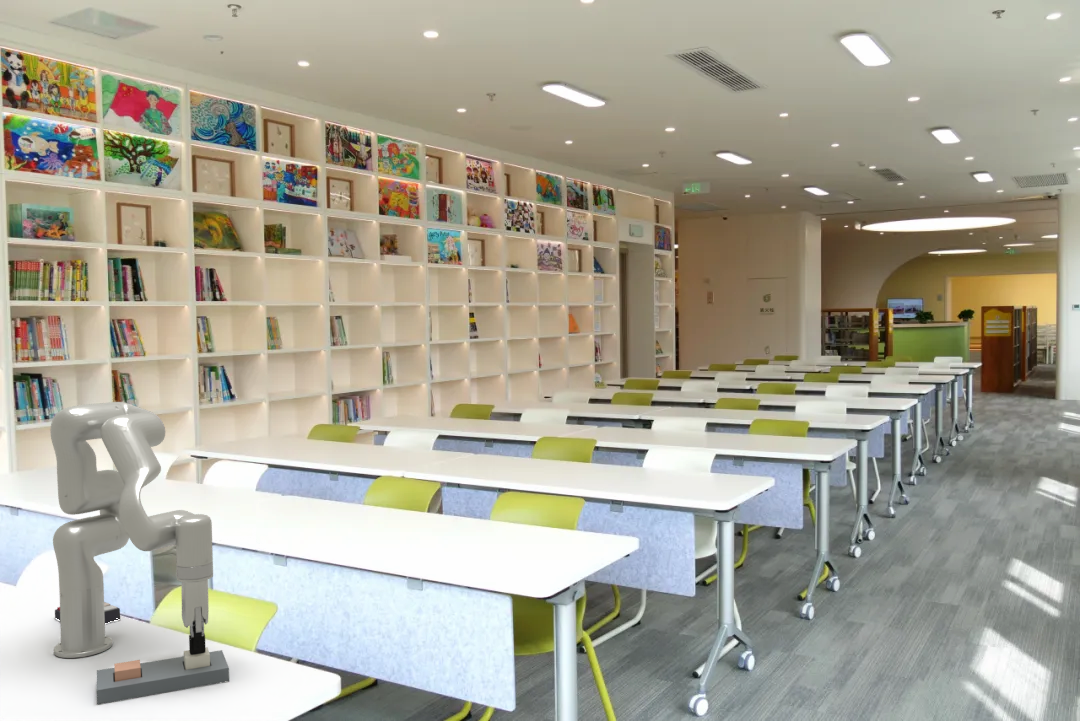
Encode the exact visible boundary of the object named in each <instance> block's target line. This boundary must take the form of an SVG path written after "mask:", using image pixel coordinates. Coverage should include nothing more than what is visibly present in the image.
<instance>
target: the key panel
mask: <svg viewBox="0 0 1080 721" xmlns="http://www.w3.org/2000/svg"><path fill="white" fill-rule="evenodd" d="M209 653H210V666H206V667H200V668H194V669H188V670H184V655H183V656H178V657H171V658H164V659H160V660H153V661H147V662H140V666H141V677H140V678H134V679H128V680H122V681H117V682H115V666H114V667H110V668H103V669H97V670H96V705H97V704H98V705H102V704H101V703H104V704H108V703H107V702H109V703H115V702H120V700H121V701H125V700H131V698H132V699H137V698H143V697H148V696H152V695H154V696H155V695H160V694H164V693H171V692H177V691H182V690H188V689H193V688H199V687H203V686H204V687H206V686H211V685H215V684H216V683H217V684H221V683H220V682H222V683H226V682H225V681H228V682H230V667H229V665H228V662H227V660H226V658H225V655H224V650H222V649H221V650H214V651H209ZM114 701H115V702H114Z"/></svg>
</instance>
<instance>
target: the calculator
mask: <svg viewBox="0 0 1080 721" xmlns="http://www.w3.org/2000/svg"><path fill="white" fill-rule="evenodd" d="M104 617H105V623H108V622H110V621H114V620H118V619H120V620H121V610H120V607H118V606H115V605H112V604H111V603H109V602H105V601H104ZM55 618H57V619H59V620H60V606H58V607H57V609H54V619H55ZM116 618H118V619H116Z"/></svg>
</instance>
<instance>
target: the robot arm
mask: <svg viewBox="0 0 1080 721" xmlns="http://www.w3.org/2000/svg"><path fill="white" fill-rule="evenodd" d="M49 430H50V440H51V444H52V447H53V450H54V454H55V457H56V458H55V459H56V476H57V477H56V480H57V495H58V496H57V497H58V504H59V507H60V510H61V511H62V512H63V513H64V514H67V515H72V516H73V515H83V514H87V513H93V512H96V511H99V514H98V515H94V516H88V517H83V518H79V519H73V520H72V521H68V522H65V523H63V524H62V525H60V526H59V527H58V528H57V529H56V530H55V532H54V534H53V537H52V544H53V551H54V555H55V559H56V564H57V569H58V570H57V571H58V587H59V588H58V589H59V590H58V591H59V607H60V622H59V623H60V626H59V627H60V642H59V643H58V644H56V645H55V646H54V648H53V654H54V656H56V657H59V658H62V659H63V658H64V659H74V658H75V659H76V658H77V659H78V658H85V657H90V656H94V655H96V654H97V655H98V654H101V653H102V652H105V651H107V650H108V649H110V648H111V647H112V645H113V639H112V637H109V636H107V635H106V629H105V628H106V626H105V617H104V602H105V590H104V588H105V587H104V586H105V584H104V574H103V570H102V569H101V567H100V565H98V563H97V562H96V561H95V559H94V558H95V557H97V556H99V555H104V554H108V553H111V552H115V551H118V550H121V549H122V548H124V547H125V546H126V545H127V543H128V542H129V540H130V542H131V543H132V544H133V546H134V547H135V548H136V549H138V550H140V551H142V552H152V551H156V550H160V549H163V548H167V547H172V546H175V552H176V553H175V556H176V580H177V581H178V582H180V583H181V619H182V623H183V625H184V627H185V628H189V635H188V643H189V644H188V645H189V647H188V650H189V651H190V654H191V655H195V654H201V653H205V651H206V650H205V648H206V635H205V625H207V624H209V580H210V579H211V578H213V577H214V558H213V557H214V556H213V555H214V554H213V528H212V526H213V524H212V523H213V522H212V519H211V517H210V516H208V515H207V514H202V513H200V514H199V513H197V514H195V513H192V512H190V511H188V510H184V509H177V510H172V511H168V512H163V513H157V514H153V515H149V516H148V514H147V512H146V510H145V508H144V506H143V504H142V501H141V492H142V489H143V488H144V487H145V486H147V485H149V484H151V483H152V481H154V480H155V479H156V478H158V476H159V475H160V474H161V471H162V466H161V464H160V462H159V460H158V458H157V456H156V455H155V452H154V451H153V449H152V447H156V446H159V445H161V444H162V443H163V441H164V440H165V438H166V427H165V424H164V422H163V421H162V418H160V417H159V416H158V414H156V413H155V412H153V411H150V410H148V409H145V408H142V407H139V406H137V405H134V404H130V403H128V402H122V401H114V402H113V401H112V402H111V401H110V402H102V403H86V404H78V405H77V404H76V405H72V406H68V407H65V408H63V409H61V410H60V411H58V412H57V413H56V414H55V415H54V416H53V418H52V421H51V423H50V429H49ZM99 439H101V440H102V442H103V445H104V447H105V449H106V451H107V452H108V454H109V457H110V458H111V460H112V462H113V465H114V467H115V468H116V470H114V469H105V470H104V469H103V470H98V468H97V455H96V452H95V451H94V448H93V447H92V446H91V444H90V443H89V442H87V441H91V440H99Z"/></svg>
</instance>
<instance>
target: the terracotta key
mask: <svg viewBox="0 0 1080 721" xmlns="http://www.w3.org/2000/svg"><path fill="white" fill-rule="evenodd" d="M140 663H141V660H140V659H136V660H130V661H125V662H123V661H121V662H116V663H114V667H115V682H117V681H122V680H128V679H134V678H140V677H141V666H140Z"/></svg>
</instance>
